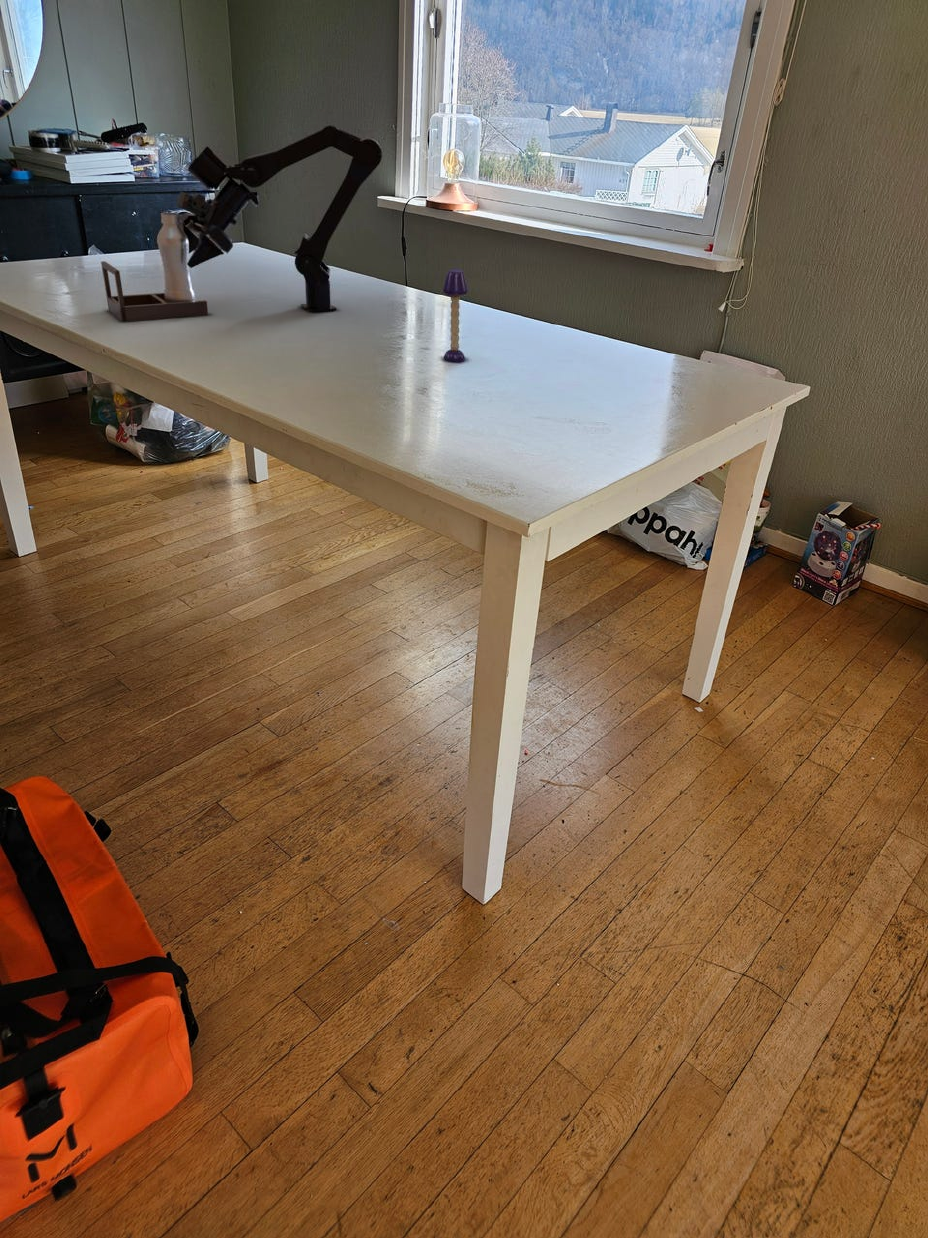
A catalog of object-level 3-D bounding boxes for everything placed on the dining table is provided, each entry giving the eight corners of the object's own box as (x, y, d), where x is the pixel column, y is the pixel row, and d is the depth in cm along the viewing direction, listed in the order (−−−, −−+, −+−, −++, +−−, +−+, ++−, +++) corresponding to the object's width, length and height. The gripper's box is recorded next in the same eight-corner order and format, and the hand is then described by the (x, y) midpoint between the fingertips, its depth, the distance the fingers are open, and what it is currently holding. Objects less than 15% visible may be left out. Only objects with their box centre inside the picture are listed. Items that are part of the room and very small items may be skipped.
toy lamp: (443, 362, 168) (447, 272, 159) (438, 356, 172) (441, 268, 163) (467, 362, 169) (472, 272, 160) (461, 355, 173) (465, 268, 164)
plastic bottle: (192, 315, 189) (181, 216, 178) (161, 313, 189) (149, 214, 178) (200, 308, 195) (190, 212, 184) (170, 306, 194) (159, 210, 184)
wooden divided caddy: (208, 315, 190) (203, 266, 185) (122, 321, 181) (114, 270, 175) (191, 304, 198) (186, 257, 192) (108, 310, 188) (100, 261, 183)
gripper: (183, 172, 187) (139, 228, 188) (213, 182, 175) (165, 242, 175) (221, 211, 195) (179, 264, 196) (252, 223, 183) (207, 280, 183)
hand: (182, 262), depth 187 cm, fingers open, 9 cm apart
